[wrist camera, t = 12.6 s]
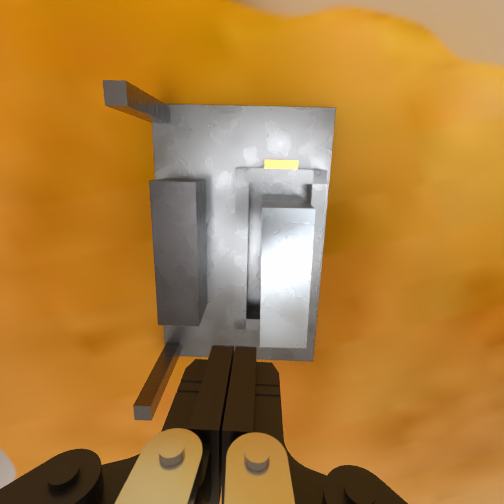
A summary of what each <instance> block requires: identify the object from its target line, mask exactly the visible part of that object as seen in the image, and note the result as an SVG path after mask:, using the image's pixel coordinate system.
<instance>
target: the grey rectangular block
mask: <svg viewBox="0 0 504 504" xmlns="http://www.w3.org/2000/svg"><path fill="white" fill-rule="evenodd" d="M315 210H316V209H315V208H314V207H313V206H312V205H311V204H310V203H308V202H307V201H306V200H305V199H304V198H303V197H302V196H300V195H286V194H262V239H261V290H260V347H274V348H306V345H307V330H308V315H309V300H310V285H311V270H312V255H313V240H314V225H315Z"/></svg>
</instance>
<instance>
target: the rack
mask: <svg viewBox="0 0 504 504" xmlns="http://www.w3.org/2000/svg"><path fill="white" fill-rule="evenodd" d="M103 88H104V98H105V106H108V107H111V108H114V109H116V110H119V111H122V112H125V113H127V114H130V115H133V116H136V117H138V118H141V119H144V120H147V121H149V122H152V130H153V147H154V165H155V180H151V181H149V185H150V201H151V217H152V233H153V249H154V265H155V281H156V297H157V313H158V325H164V339H165V347H164V349H163V351H162V353H161V354H160V356H159V358H158V360H157V362H156V364H155V366H154V368H153V370H152V371H151V373H150V375H149V377H148V379H147V381H146V383H145V385H144V387H143V388H142V390H141V392H140V394H139V396H138V398H137V400H136V402H135V404H134V405H133V407H134V418H135V420H152V418H153V416H154V414H155V411H156V409H157V407H158V404H159V402H160V400H161V397H162V395H163V393H164V390H165V388H166V386H167V383H168V381H169V379H170V376H171V374H172V372H173V369H174V367H175V365H176V362H177V360H178V358H179V356H192V357H209V355H210V351H211V348H212V345H232V346H234V352H235V346H255V347H257V352H256V359H265V360H290V361H313V355H314V344H315V333H316V322H317V311H318V300H319V289H320V278H321V267H322V256H323V245H324V234H325V223H326V212H327V201H328V189H329V178H330V167H331V156H332V145H333V134H334V123H335V112H336V108H324V107H280V106H235V105H191V104H164V103H162V102H160V101H159V100H157V99H155V98H154V97H152V96H150V95H149V94H147V93H145V92H144V91H142V90H140V89H139V88H137V87H135V86H134V85H132V84H130V83H129V82H127V81H113V80H103ZM262 194H286V195H300V196H302V197H303V198H304V199H305V200H306V201H307V202H308V203H310V204H311V205H312V206H313V207H314V208H315V209H316V210H315V225H314V240H313V255H312V270H311V285H310V300H309V315H308V330H307V345H306V348H274V347H260V290H261V239H262Z"/></svg>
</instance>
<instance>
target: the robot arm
mask: <svg viewBox="0 0 504 504" xmlns="http://www.w3.org/2000/svg"><path fill="white" fill-rule="evenodd" d="M256 352H257V347H255V346H235V352H234V346H232V345H212V348H211V351H210V355H209V358H208V360H201V359H195V360H194V361H193V362H192V363H191V364H190V365H189V366H188V367H187V368H186V369H185V372H184V374H183V377H182V379H181V383H180V385H179V387H178V390H177V393H176V395H175V398H174V400H173V403H172V405H171V408H170V411H169V413H168V416H167V418H166V421H165V424H164V426H163V429H162V431H161V432H160V433H158V434H157V435H155V436H154V437H152V438H151V439H150V440H149V441H148V442H147V443H146V445H145V446H144V448H143V449H142V451H141V453H140V454H138V455H136V456H134V457H131V458H128V459H125V460H120V461H116V462H112V463H108V464H104V465H101V461H100V458H99V456H98V455H97V454H96V453H95V452H93V451H91V450H87V449H74V450H69V451H66V452H63V453H61V454H58V455H57V456H55V457H53V458H51V459H49V460H48V461H46V462H44V463H43V464H41V465H40V466H38V467H36V468H35V469H33V470H31V471H30V472H28V473H26V474H25V475H23V476H21V477H20V478H18V479H16V480H15V481H13V482H11V483H10V484H8V485H6V486H5V487H3V488H1V489H0V504H219V502H220V495H221V487H222V504H408V503H407V502H405V501H404V500H403V499H402V498H401V497H400V496H399V495H397V494H396V493H395V492H394V491H393V490H392V489H391V488H390V487H388V486H387V485H386V484H385V483H384V482H383V481H382V480H380V479H379V478H378V477H377V476H376V475H374V474H373V473H371V472H370V471H368V470H366V469H363V468H361V467H358V466H352V465H344V466H339V467H337V468H335V469H333V470H332V471H331V472H330V473H329V474H328V475H327V476H326V475H324V474H321V473H318V472H316V471H313V470H311V469H308V468H306V467H304V466H303V465H301V464H300V463H298V462H297V461H296V460H295V459H294V458H293V457H292V456H291V455H290V453H289V452H288V450H287V448H286V446H285V443H284V438H283V425H282V410H281V398H280V381H279V373H278V371H277V370H276V368H275V367H274V365H273V364H272V363H266V362H256Z"/></svg>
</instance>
